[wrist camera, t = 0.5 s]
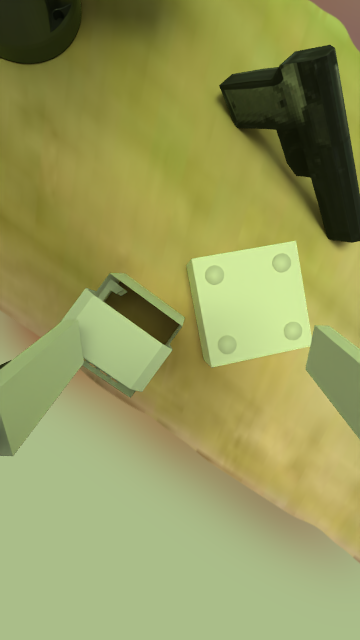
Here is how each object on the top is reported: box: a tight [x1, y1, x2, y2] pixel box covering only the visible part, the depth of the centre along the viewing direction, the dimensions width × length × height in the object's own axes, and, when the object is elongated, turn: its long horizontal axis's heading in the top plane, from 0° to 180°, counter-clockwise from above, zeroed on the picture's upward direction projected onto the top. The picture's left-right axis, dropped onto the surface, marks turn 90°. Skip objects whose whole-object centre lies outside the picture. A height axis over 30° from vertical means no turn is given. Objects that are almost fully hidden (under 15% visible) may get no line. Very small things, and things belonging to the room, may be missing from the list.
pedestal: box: [186, 241, 312, 367], centre depth 36 cm, size 14×14×5 cm
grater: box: [60, 273, 185, 398], centre depth 27 cm, size 10×10×20 cm
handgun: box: [219, 45, 360, 242], centre depth 35 cm, size 2×24×15 cm, turn 43°
